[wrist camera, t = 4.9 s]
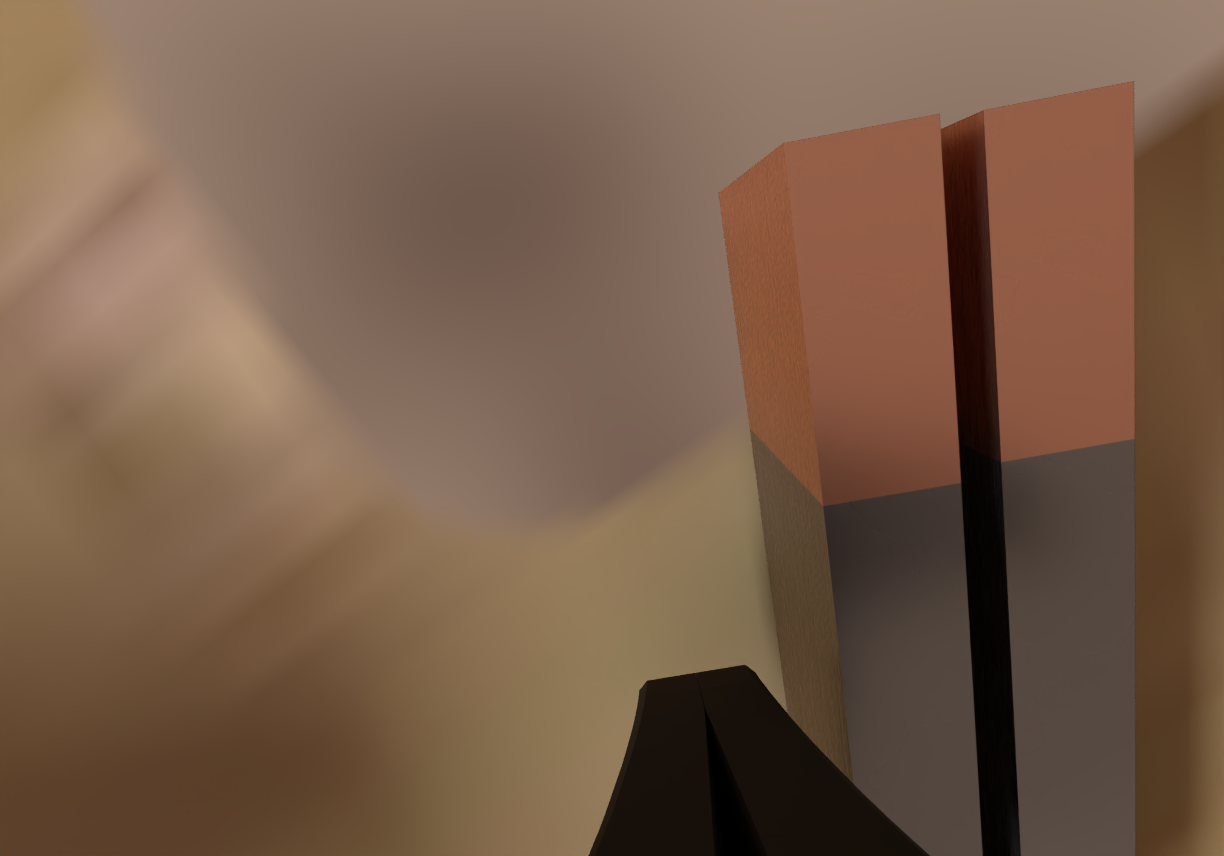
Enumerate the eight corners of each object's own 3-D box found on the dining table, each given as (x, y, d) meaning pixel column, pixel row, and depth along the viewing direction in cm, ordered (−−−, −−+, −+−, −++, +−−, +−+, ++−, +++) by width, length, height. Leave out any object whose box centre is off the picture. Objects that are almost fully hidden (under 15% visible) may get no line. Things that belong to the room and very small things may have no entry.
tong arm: (950, 1109, 11) (1068, 1397, 8) (802, 1130, 11) (869, 1421, 9) (873, 164, 8) (1031, 96, 5) (661, 203, 8) (693, 160, 5)
